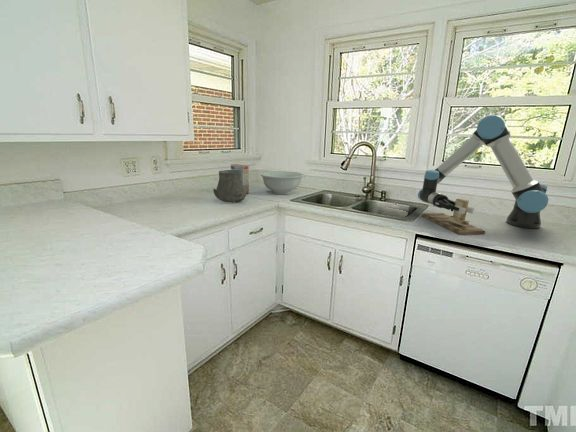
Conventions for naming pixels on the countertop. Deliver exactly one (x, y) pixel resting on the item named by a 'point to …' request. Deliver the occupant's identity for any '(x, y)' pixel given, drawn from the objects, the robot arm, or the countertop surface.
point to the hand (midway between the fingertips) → (468, 211)
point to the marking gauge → (458, 216)
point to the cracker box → (243, 175)
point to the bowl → (281, 181)
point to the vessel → (230, 186)
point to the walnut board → (452, 224)
